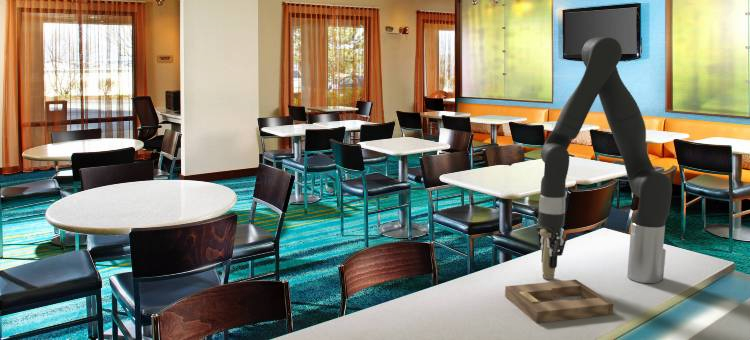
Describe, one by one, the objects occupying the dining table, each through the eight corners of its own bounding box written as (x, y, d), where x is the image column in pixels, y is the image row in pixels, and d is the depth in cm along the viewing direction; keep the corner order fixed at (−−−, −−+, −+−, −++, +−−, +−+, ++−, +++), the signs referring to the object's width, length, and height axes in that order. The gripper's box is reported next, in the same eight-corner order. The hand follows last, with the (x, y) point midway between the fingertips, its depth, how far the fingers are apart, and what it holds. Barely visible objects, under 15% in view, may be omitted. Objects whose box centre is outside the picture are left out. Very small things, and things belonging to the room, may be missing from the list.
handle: (562, 279, 185) (564, 231, 182) (543, 282, 183) (546, 233, 180) (552, 274, 189) (555, 227, 186) (534, 276, 187) (536, 229, 184)
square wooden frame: (575, 289, 177) (575, 278, 177) (612, 314, 160) (613, 302, 159) (505, 296, 172) (505, 285, 171) (536, 323, 155) (536, 310, 154)
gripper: (576, 215, 176) (572, 272, 179) (551, 203, 190) (548, 256, 193) (552, 216, 174) (549, 274, 178) (528, 205, 188) (526, 258, 191)
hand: (548, 264), depth 185 cm, fingers closed on handle, 4 cm apart
